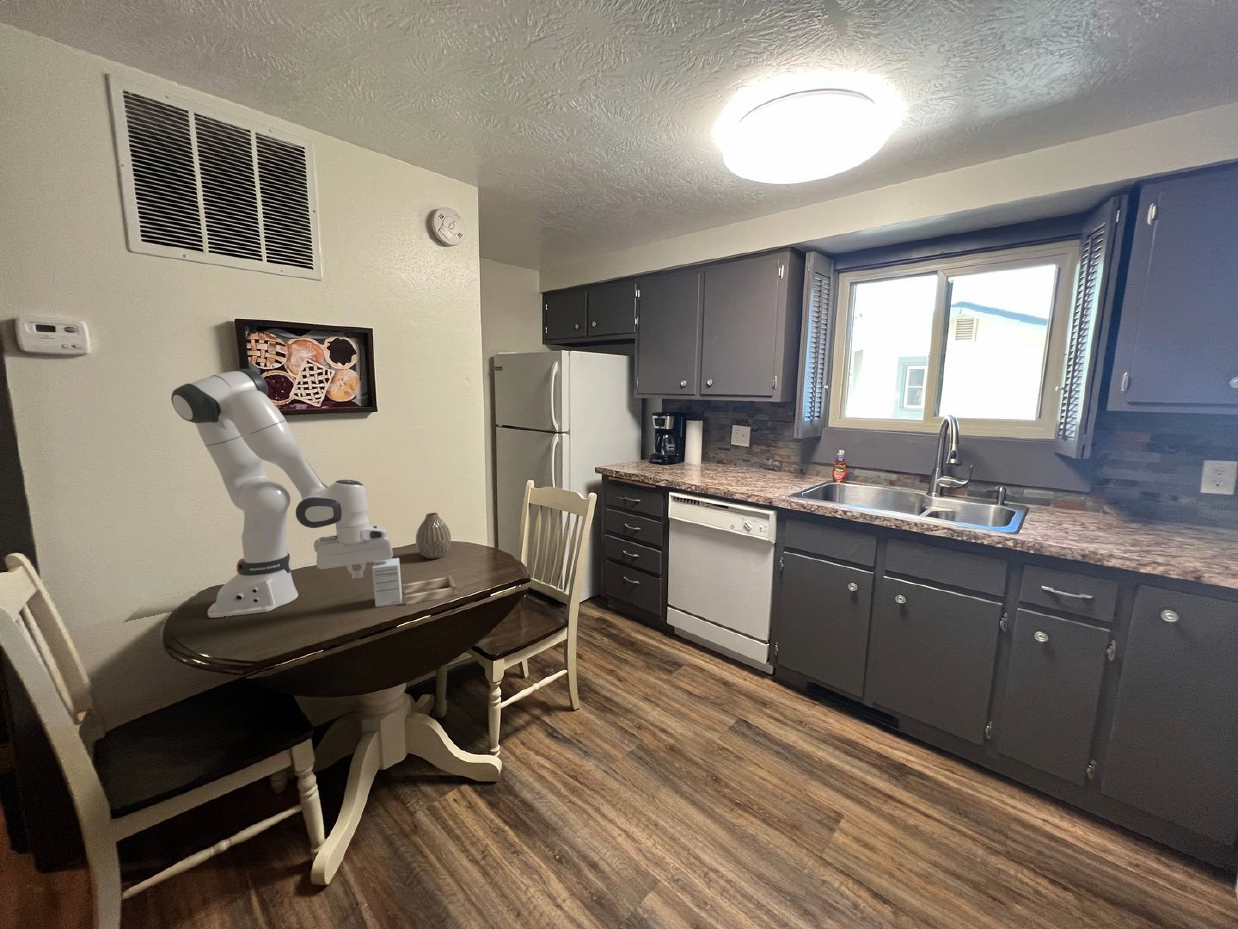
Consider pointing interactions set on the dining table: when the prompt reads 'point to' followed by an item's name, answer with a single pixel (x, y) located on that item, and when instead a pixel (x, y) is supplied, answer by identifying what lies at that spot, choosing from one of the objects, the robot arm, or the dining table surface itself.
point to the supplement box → (387, 582)
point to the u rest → (431, 594)
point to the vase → (433, 537)
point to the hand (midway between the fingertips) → (357, 577)
